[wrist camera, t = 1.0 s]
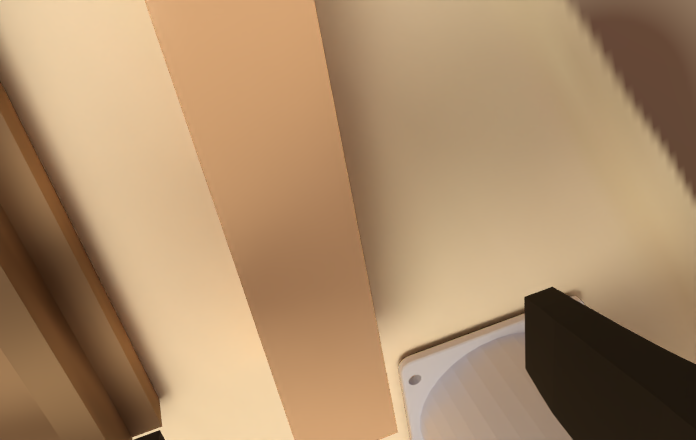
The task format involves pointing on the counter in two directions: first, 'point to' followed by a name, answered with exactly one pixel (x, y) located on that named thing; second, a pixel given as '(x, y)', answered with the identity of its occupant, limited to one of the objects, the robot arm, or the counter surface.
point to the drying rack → (58, 318)
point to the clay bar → (283, 202)
